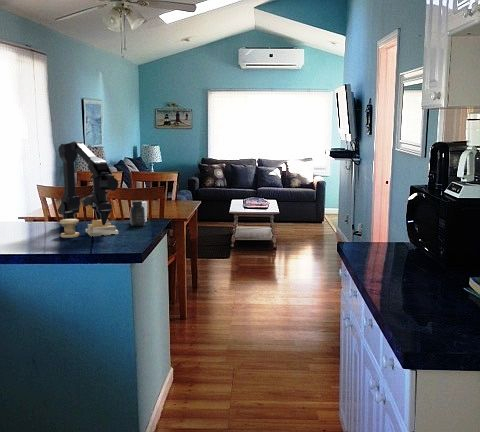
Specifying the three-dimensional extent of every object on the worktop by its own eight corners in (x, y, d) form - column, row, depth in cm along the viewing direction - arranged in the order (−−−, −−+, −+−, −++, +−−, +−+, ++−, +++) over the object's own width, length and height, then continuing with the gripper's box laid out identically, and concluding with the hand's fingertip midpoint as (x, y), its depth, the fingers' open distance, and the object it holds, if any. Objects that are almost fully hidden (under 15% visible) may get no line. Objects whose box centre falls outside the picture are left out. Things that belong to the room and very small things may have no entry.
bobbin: (59, 235, 249) (58, 219, 248) (77, 233, 253) (76, 218, 251) (62, 238, 242) (61, 222, 241) (81, 236, 245) (80, 221, 244)
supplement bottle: (146, 224, 275) (145, 200, 273) (142, 226, 268) (142, 202, 266) (133, 224, 276) (132, 200, 274) (129, 226, 269) (128, 201, 267)
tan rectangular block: (92, 229, 253) (91, 220, 252) (107, 228, 256) (107, 218, 255) (93, 231, 250) (93, 221, 249) (109, 229, 253) (108, 220, 252)
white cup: (132, 220, 286) (132, 201, 284) (148, 220, 287) (147, 200, 285) (131, 223, 278) (130, 203, 277) (147, 222, 279) (146, 203, 277)
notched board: (85, 232, 256) (85, 224, 255) (111, 229, 261) (111, 222, 261) (91, 236, 245) (90, 228, 245) (118, 234, 251) (118, 226, 250)
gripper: (77, 187, 255) (79, 221, 257) (85, 192, 238) (87, 228, 241) (101, 186, 260) (103, 219, 262) (111, 190, 243) (113, 226, 246)
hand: (101, 223), depth 253 cm, fingers open, 9 cm apart
